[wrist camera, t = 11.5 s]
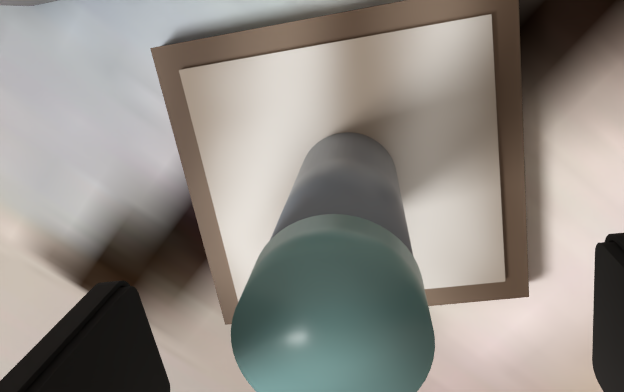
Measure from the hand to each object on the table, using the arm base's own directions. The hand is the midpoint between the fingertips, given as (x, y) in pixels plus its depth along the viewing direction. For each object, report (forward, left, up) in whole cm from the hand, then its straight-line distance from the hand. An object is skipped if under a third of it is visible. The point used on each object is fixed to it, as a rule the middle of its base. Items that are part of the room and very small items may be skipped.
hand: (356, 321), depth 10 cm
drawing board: (+1, 0, -12) cm, 12 cm away
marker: (+1, 0, -11) cm, 11 cm away
